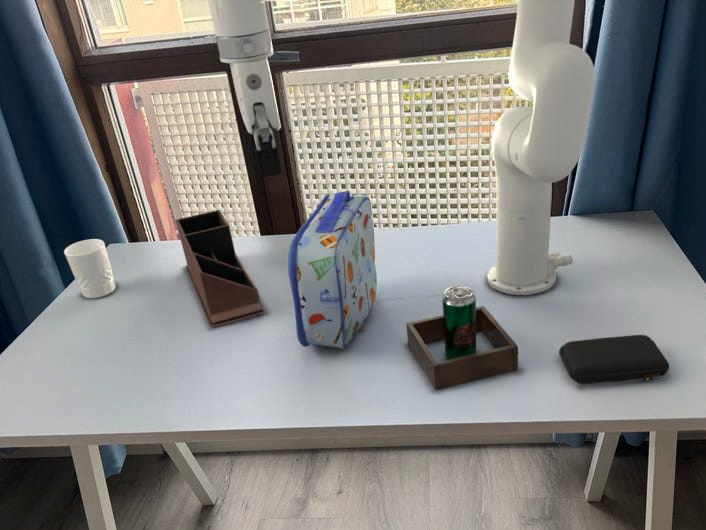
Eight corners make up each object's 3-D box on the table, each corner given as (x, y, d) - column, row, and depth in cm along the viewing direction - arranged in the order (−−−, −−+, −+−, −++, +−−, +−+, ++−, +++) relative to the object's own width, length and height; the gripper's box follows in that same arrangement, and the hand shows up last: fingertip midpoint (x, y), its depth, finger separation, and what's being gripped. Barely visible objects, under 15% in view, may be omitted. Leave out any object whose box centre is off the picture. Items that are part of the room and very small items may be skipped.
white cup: (72, 298, 145) (55, 254, 140) (97, 280, 151) (82, 237, 146) (101, 301, 143) (86, 257, 137) (126, 283, 149) (112, 240, 143)
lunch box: (333, 283, 139) (318, 175, 127) (384, 283, 137) (374, 174, 125) (294, 361, 117) (271, 239, 105) (354, 363, 115) (338, 239, 103)
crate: (483, 328, 120) (483, 305, 118) (517, 370, 109) (518, 346, 106) (408, 345, 118) (406, 323, 115) (435, 390, 107) (433, 366, 104)
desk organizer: (232, 256, 155) (221, 207, 149) (265, 313, 132) (254, 259, 125) (185, 267, 152) (171, 219, 146) (210, 329, 129) (196, 274, 123)
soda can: (456, 370, 111) (454, 304, 104) (439, 355, 114) (435, 291, 108) (482, 359, 112) (482, 293, 106) (464, 345, 116) (463, 281, 110)
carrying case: (573, 394, 103) (675, 385, 102) (575, 377, 101) (678, 368, 100) (555, 354, 112) (649, 345, 111) (556, 338, 110) (651, 329, 109)
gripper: (279, 52, 92) (299, 178, 102) (263, 33, 106) (282, 146, 116) (223, 61, 91) (248, 187, 101) (214, 41, 105) (237, 154, 115)
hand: (266, 165), depth 108 cm, fingers open, 9 cm apart
